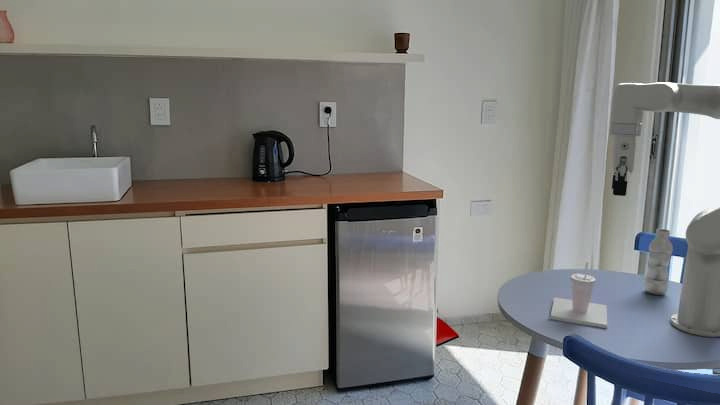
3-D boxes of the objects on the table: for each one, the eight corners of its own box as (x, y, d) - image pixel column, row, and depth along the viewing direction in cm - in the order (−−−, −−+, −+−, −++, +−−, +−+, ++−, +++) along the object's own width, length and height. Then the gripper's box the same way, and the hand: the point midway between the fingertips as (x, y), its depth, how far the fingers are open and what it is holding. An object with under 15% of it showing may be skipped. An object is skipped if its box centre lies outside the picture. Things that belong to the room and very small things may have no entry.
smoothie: (594, 316, 144) (600, 267, 141) (569, 314, 145) (574, 265, 142) (589, 306, 150) (594, 259, 147) (565, 304, 152) (570, 257, 148)
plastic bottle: (669, 292, 164) (678, 230, 159) (663, 299, 159) (672, 234, 155) (646, 287, 168) (654, 226, 164) (640, 293, 163) (648, 230, 159)
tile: (605, 308, 152) (606, 305, 152) (606, 328, 139) (607, 324, 139) (553, 300, 157) (554, 297, 157) (550, 319, 145) (550, 315, 144)
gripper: (643, 133, 134) (635, 199, 138) (638, 128, 150) (631, 188, 154) (611, 131, 137) (604, 196, 141) (609, 127, 153) (603, 186, 157)
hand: (618, 192), depth 147 cm, fingers open, 9 cm apart
